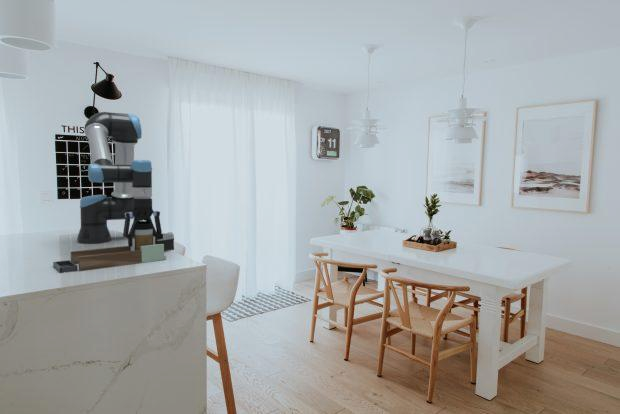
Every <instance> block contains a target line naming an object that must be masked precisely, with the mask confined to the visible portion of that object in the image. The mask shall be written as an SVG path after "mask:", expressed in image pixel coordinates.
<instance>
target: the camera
mask: <svg viewBox="0 0 620 414" xmlns="http://www.w3.org/2000/svg"><path fill="white" fill-rule="evenodd" d="M157 244H164V253H165V252H171V251H175V236H174V233H173V232H167V233H162V234H161V235H158V237H157ZM157 244H155V245H157Z"/></svg>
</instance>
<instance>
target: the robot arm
mask: <svg viewBox="0 0 620 414" xmlns="http://www.w3.org/2000/svg"><path fill="white" fill-rule="evenodd" d="M83 129H84V135H85V137H86V138H87V139H88V146H89V150H90V151H89V152H90V157H91V163H90V164H88V166H87V173H88V174H87V176H88V181H89V182H90V183H99V184H102V183H104V184H107V183H114V191H112V192H111V196H110V197H109V196H107V195H106V194H95V195H88V196H83V197H81V199H80V202H79V203H80V204H79V209H80V228H79V232H78V234H77V236H76V237H77V238H76V243H78V244H82V245H83V244H85V245H86V244H87V245H88V244H89V245H90V244H91V245H93V244H104V243H109V242H111V241H112V235H111V233H110V229H109V227H108V221H115V220H116V221H117V220H118V221H119V220H124V225H123V233H122V237H123V238H126V239H127V246H131V251H135V239H134V238H133V235H134V233H135V230H134V228H135V224H138V223H139V221H147V223H148V224H150V223H153V221H152V218H151V217H152V216H153V217H154V223H155V226H154V224H153V226H154V228H153V239H152V245H155V244H157V237H158V235H161V234H163V233H162V227H161V226H162V225H161V219H160V215H161V211H159V210H154V209H153V199H152V196H153V187H152V185H153V182H152V181H153V179H152V178H153V175H152V174H153V173H152V172H153V166H152V161H151V160H148V159H135V146H136V145H137V144H138V140H140V139H142V125H141V122H140V117H138V116H137V114H132V113H123V112H121V113H120V112H109V111H108V112H107V111H101V112H97V113H95V114H92V115H91V116H90V117H89V118H88V120H86V123H85V124H84V127H83ZM108 138H111V141H112V143H114V146H115V148H114V149H115V150H114V154H115V155H114V163H113V160H112V154H111V150H110V145H109V141H108ZM132 219H133V222H132V224H131V220H132ZM133 223H134V224H133ZM130 225H131V227H130Z"/></svg>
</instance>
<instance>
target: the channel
mask: <svg viewBox="0 0 620 414" xmlns="http://www.w3.org/2000/svg"><path fill="white" fill-rule="evenodd" d="M70 261H72V262H73V263H74V264H76V265H78V271H79V272H82V271H90V270H91V271H92V270H98V269H105V268H113V267H120V266H128V265H129V266H130V265H136V264H142V250H135V251H131V246H128V245H124V246H121V245H120V246H113V247H112V246H111V247H104V248H103V247H102V248H101V247H100V248H93V249H84V250H83V249H82V250H73V251H70Z"/></svg>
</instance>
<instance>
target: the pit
mask: <svg viewBox="0 0 620 414" xmlns="http://www.w3.org/2000/svg"><path fill="white" fill-rule="evenodd" d="M52 265H53V266H52V267H53V268H54V269H55V270H56V271H57V272H58V273H59V274H64V272H65V273H73V272H78V271H79V266H78V264H74V263H73V262H72V261H71V259H67V260H59V261H53V262H52Z"/></svg>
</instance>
